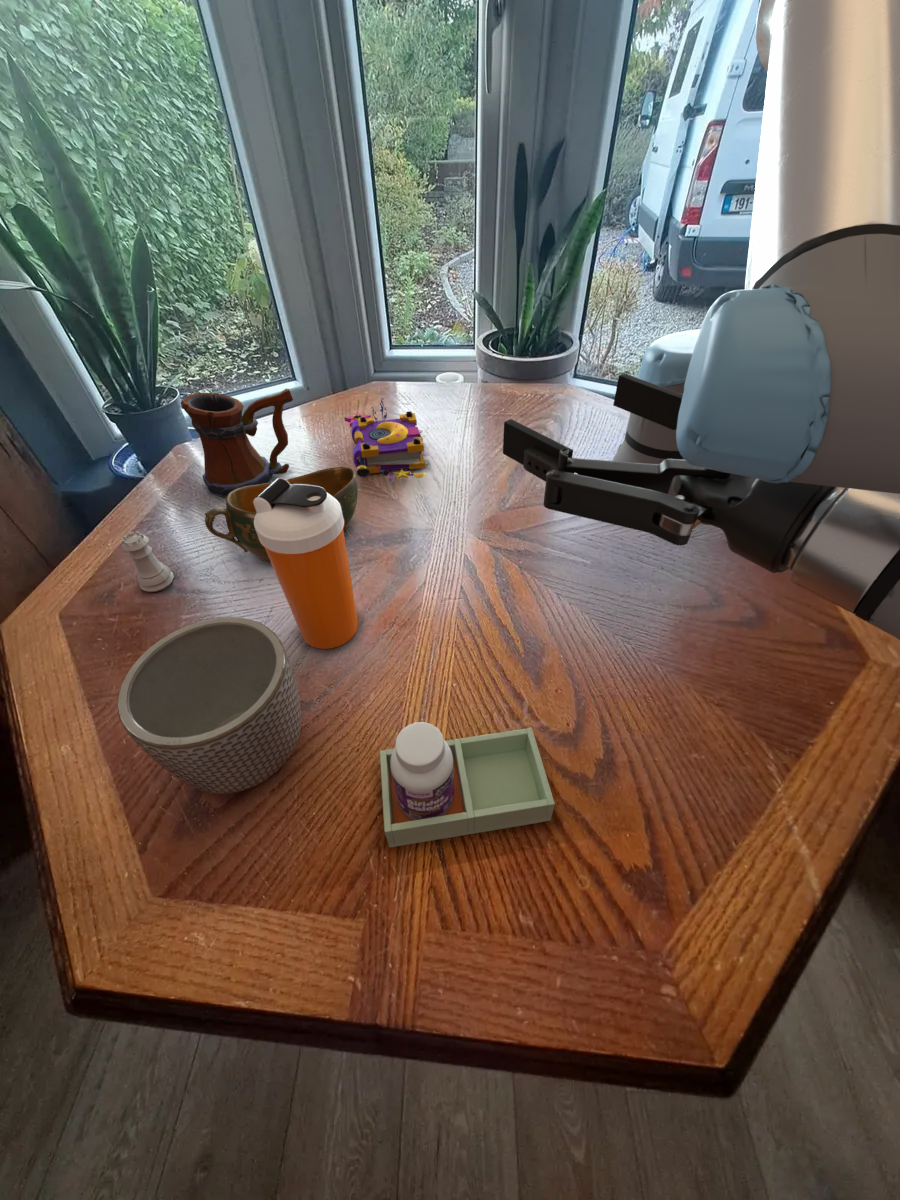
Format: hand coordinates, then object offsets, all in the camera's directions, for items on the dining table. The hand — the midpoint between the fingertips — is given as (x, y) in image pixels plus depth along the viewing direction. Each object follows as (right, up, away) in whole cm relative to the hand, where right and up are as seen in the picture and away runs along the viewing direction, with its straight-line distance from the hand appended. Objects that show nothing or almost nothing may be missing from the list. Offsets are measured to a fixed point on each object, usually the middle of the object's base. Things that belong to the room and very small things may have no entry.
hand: (565, 411), depth 44 cm
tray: (-9, -35, +5) cm, 36 cm away
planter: (-30, -32, +9) cm, 45 cm away
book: (-21, +11, +52) cm, 58 cm away
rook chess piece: (-51, -14, +28) cm, 60 cm away
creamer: (-33, -7, +34) cm, 48 cm away
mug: (-44, +5, +48) cm, 65 cm away
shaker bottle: (-25, -20, +21) cm, 38 cm away
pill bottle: (-12, -35, +4) cm, 37 cm away
